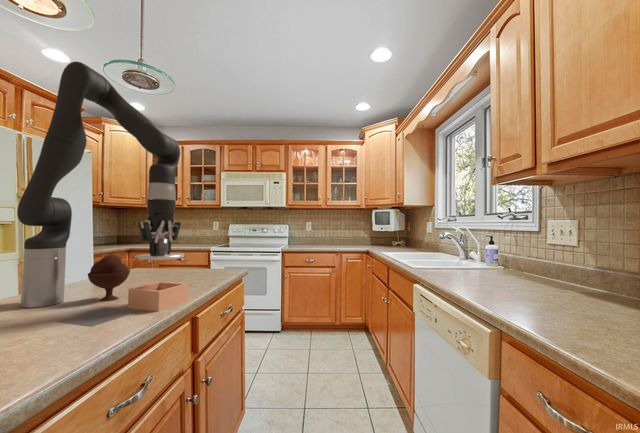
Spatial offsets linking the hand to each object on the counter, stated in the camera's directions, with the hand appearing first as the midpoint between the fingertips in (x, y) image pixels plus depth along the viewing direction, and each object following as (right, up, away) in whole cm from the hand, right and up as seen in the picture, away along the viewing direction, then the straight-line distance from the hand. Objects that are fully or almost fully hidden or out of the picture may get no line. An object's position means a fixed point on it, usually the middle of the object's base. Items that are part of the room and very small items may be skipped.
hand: (160, 254), depth 83 cm
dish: (0, -16, -1) cm, 16 cm away
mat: (-9, -15, -12) cm, 21 cm away
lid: (0, -1, 0) cm, 1 cm away
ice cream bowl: (-19, -16, +5) cm, 25 cm away
